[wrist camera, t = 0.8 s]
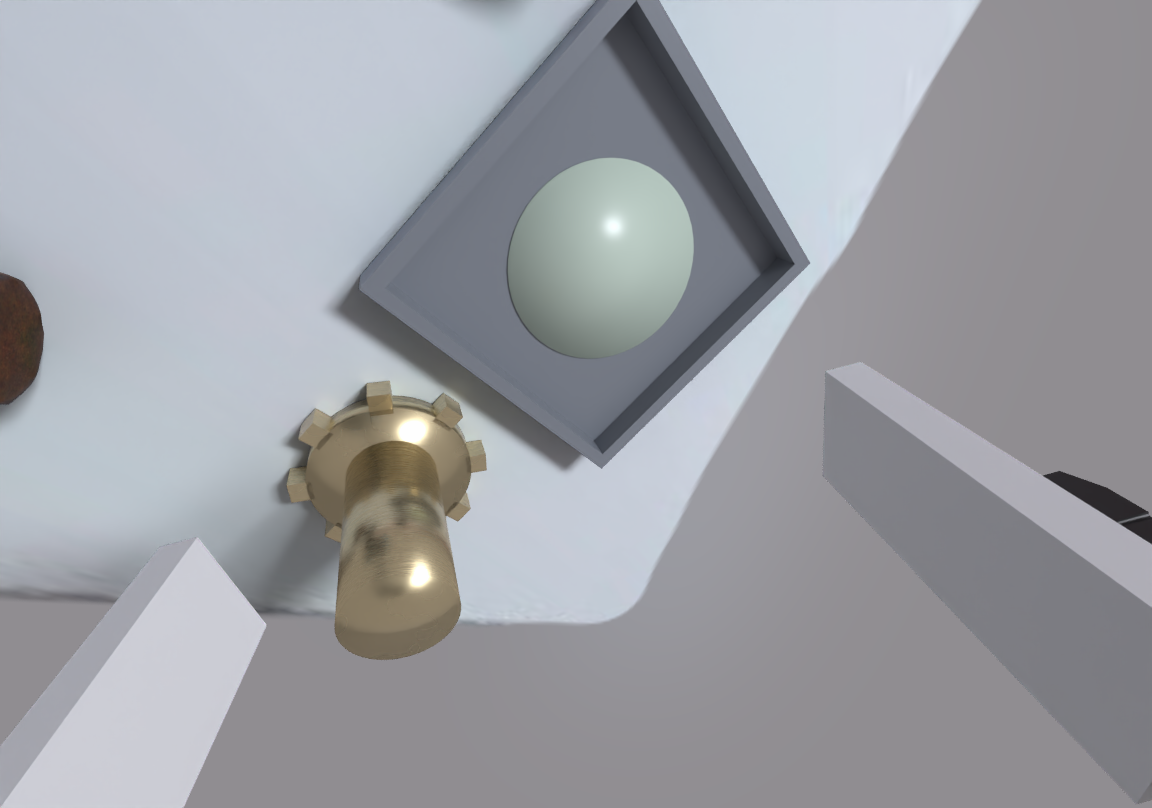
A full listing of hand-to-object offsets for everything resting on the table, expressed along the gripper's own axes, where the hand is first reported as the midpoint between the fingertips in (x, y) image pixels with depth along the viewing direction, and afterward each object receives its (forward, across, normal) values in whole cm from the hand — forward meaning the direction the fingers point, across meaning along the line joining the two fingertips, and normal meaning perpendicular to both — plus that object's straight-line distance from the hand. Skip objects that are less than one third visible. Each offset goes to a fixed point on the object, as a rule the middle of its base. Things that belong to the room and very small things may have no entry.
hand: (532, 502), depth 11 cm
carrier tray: (+20, +5, -1) cm, 21 cm away
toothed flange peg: (+18, -10, -9) cm, 23 cm away
